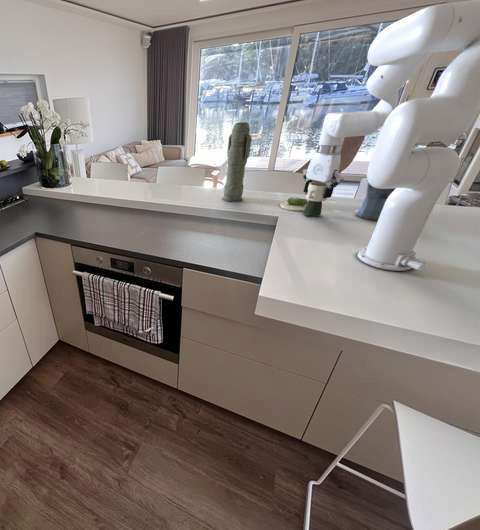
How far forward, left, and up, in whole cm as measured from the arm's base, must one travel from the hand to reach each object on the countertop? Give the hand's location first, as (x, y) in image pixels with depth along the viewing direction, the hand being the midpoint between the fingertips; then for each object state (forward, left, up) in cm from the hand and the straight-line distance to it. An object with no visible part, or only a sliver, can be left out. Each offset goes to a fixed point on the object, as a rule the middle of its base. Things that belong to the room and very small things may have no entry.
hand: (316, 194), depth 116 cm
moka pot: (-12, -17, -9) cm, 23 cm away
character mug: (0, 0, -9) cm, 9 cm away
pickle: (+11, -3, -9) cm, 14 cm away
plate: (+11, -3, -9) cm, 14 cm away
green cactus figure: (+34, +14, -9) cm, 38 cm away
